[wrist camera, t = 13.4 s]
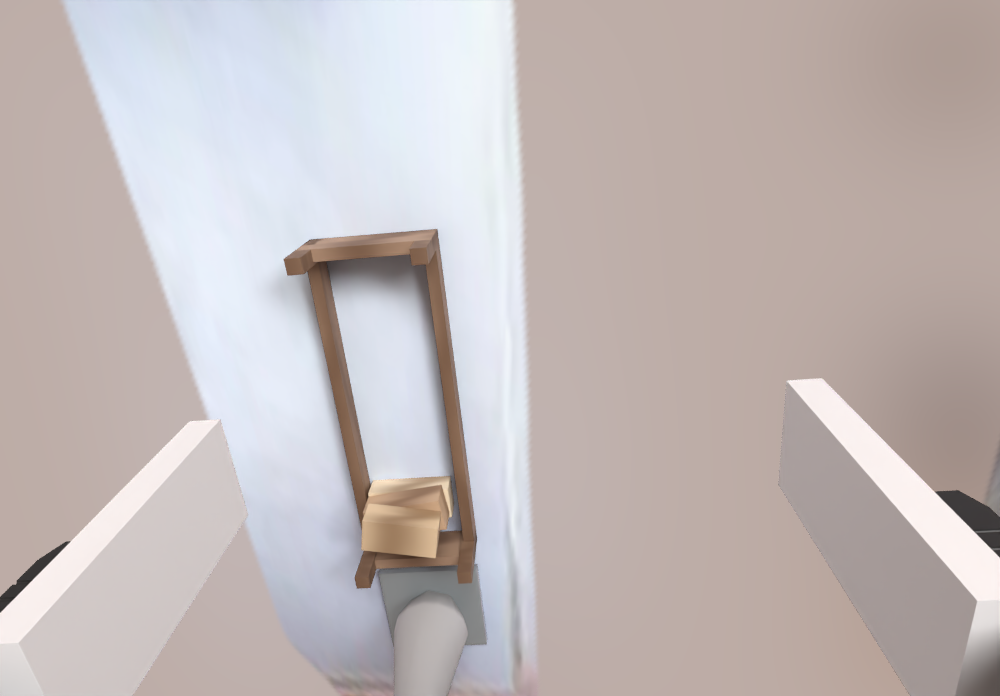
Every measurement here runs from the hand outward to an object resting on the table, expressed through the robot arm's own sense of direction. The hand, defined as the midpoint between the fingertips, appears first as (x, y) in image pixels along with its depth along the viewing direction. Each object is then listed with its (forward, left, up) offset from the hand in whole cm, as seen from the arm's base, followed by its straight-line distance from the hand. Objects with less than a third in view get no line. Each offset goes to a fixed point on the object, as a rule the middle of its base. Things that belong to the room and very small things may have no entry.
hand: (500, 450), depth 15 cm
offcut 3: (+10, +20, -25) cm, 34 cm away
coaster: (+10, +32, -29) cm, 44 cm away
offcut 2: (+10, +20, -27) cm, 35 cm away
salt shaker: (+9, +32, -28) cm, 44 cm away
